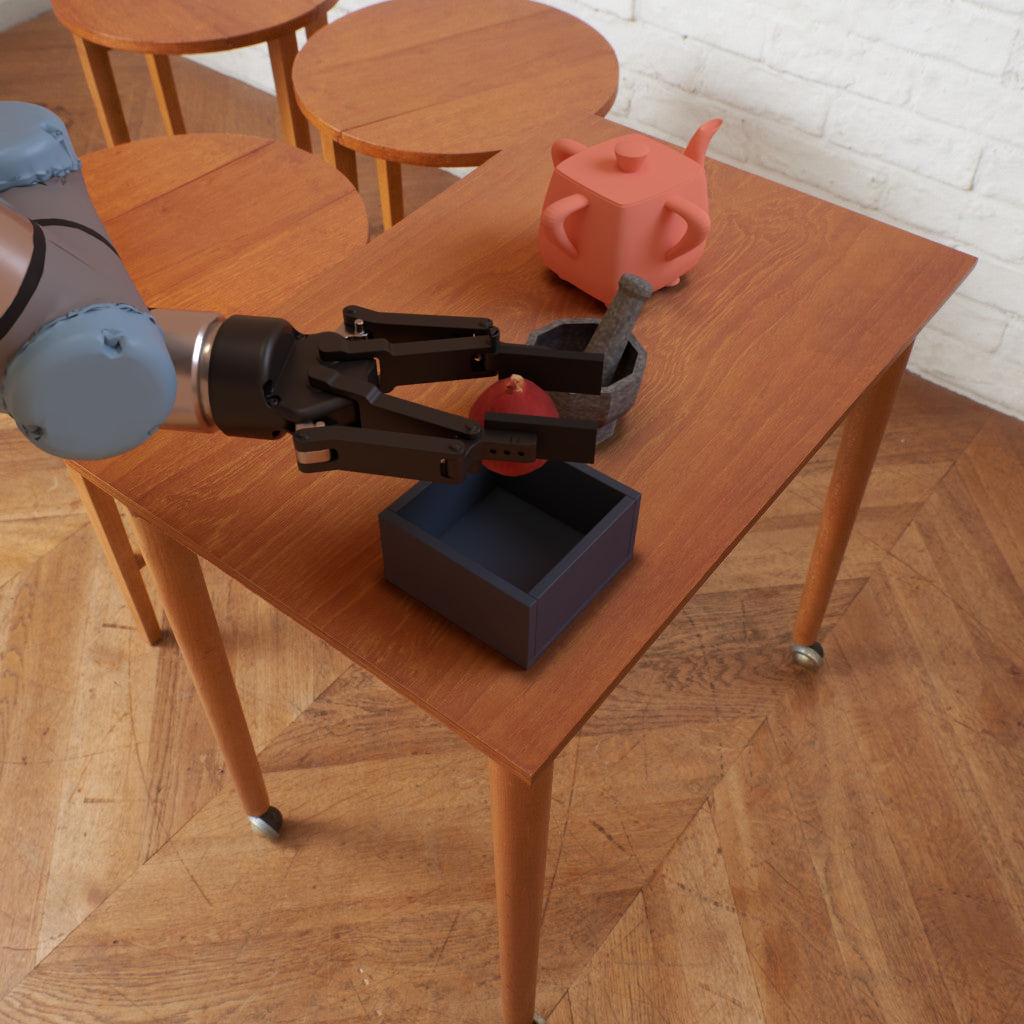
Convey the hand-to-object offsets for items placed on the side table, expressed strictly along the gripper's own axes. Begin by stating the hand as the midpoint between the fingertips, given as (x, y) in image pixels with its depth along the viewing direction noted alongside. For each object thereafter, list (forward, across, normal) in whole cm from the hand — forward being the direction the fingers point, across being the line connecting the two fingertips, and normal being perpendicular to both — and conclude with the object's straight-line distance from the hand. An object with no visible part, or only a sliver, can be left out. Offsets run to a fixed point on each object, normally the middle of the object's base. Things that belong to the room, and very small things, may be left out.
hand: (598, 407), depth 63 cm
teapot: (+1, -39, -16) cm, 42 cm away
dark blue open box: (-5, 0, -16) cm, 16 cm away
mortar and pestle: (-1, -17, -16) cm, 23 cm away
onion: (-5, 0, -6) cm, 8 cm away
